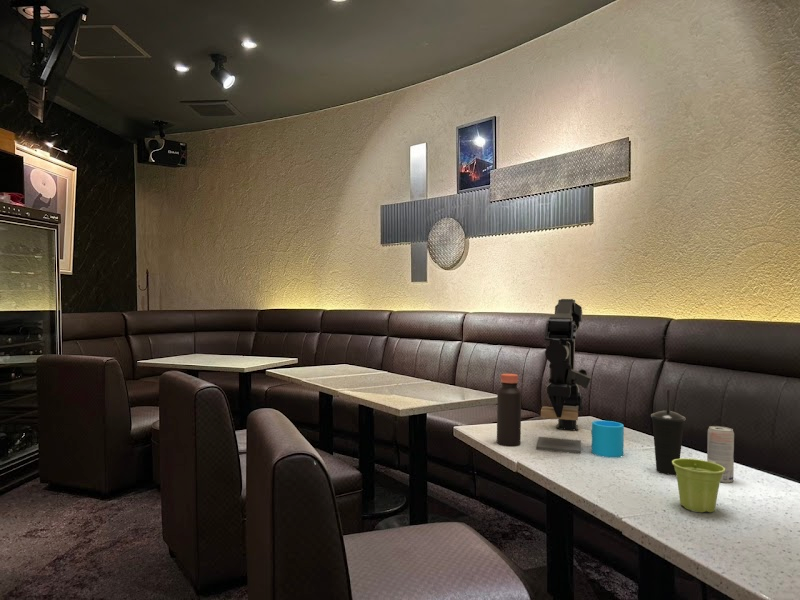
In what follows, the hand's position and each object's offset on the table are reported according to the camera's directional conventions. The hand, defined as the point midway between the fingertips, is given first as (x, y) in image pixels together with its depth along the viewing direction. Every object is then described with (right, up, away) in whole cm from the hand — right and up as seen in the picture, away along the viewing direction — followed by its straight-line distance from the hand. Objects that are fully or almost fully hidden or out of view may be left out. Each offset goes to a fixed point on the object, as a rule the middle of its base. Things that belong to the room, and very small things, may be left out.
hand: (559, 414), depth 155 cm
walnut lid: (0, -1, 0) cm, 1 cm away
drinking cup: (+20, -9, -22) cm, 31 cm away
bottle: (-14, -9, +2) cm, 17 cm away
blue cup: (+11, -9, -5) cm, 15 cm away
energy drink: (+30, -10, -28) cm, 42 cm away
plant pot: (+14, -9, -46) cm, 49 cm away
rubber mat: (0, -9, 0) cm, 9 cm away
